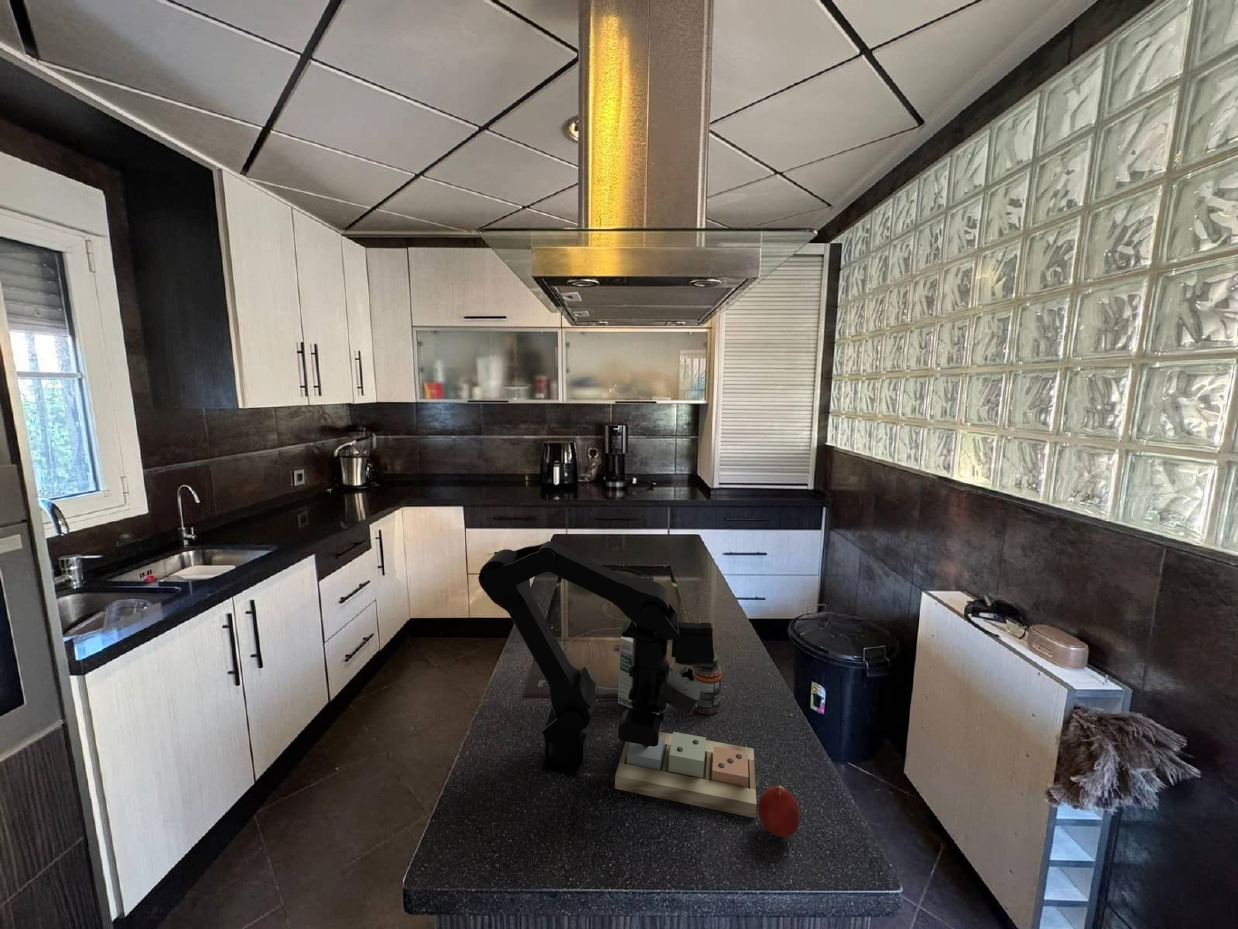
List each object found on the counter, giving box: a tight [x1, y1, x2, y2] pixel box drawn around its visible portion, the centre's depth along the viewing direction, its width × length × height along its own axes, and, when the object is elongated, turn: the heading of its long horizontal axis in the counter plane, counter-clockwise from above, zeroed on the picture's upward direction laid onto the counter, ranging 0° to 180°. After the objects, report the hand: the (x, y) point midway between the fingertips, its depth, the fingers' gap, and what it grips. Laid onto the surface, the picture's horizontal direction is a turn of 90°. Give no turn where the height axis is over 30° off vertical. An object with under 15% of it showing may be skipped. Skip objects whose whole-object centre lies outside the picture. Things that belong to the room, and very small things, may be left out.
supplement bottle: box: [692, 652, 723, 716], centre depth 100 cm, size 6×6×11 cm
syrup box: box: [617, 636, 633, 709], centre depth 101 cm, size 6×6×14 cm
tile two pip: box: [668, 731, 707, 778], centre depth 82 cm, size 6×6×3 cm
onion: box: [757, 785, 801, 838], centre depth 72 cm, size 6×6×8 cm
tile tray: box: [614, 731, 757, 819], centre depth 83 cm, size 22×12×2 cm, turn 77°
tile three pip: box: [712, 746, 748, 788], centre depth 81 cm, size 6×6×3 cm
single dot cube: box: [627, 736, 665, 771], centre depth 84 cm, size 6×6×3 cm
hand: (646, 744), depth 84 cm, fingers closed, pressing on single dot cube
